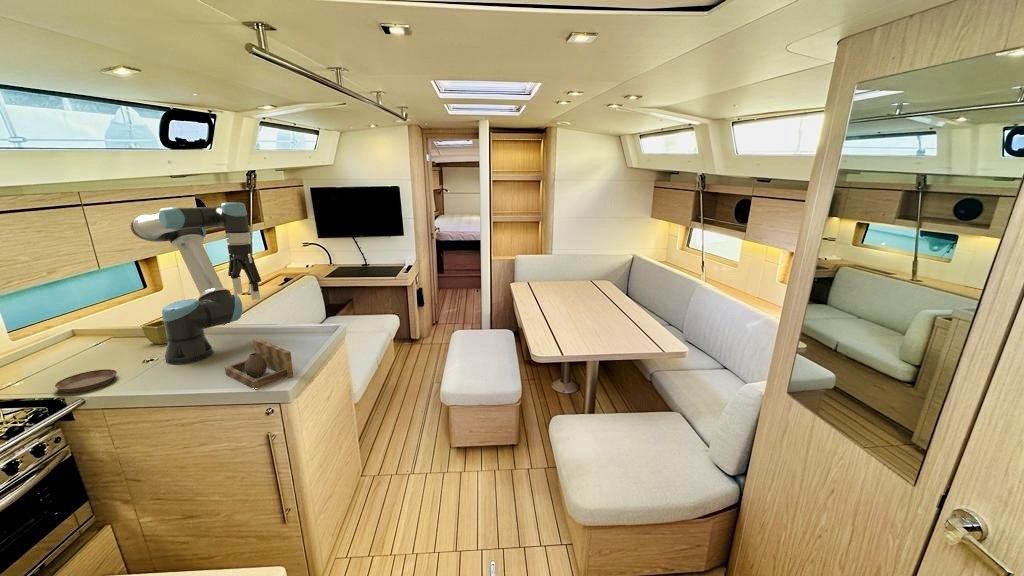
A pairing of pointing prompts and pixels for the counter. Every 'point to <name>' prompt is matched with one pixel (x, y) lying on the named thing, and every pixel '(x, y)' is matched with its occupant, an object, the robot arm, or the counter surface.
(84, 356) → the counter surface
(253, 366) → the vase
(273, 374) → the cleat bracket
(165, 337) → the flower pot
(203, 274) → the robot arm
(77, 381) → the saucer
